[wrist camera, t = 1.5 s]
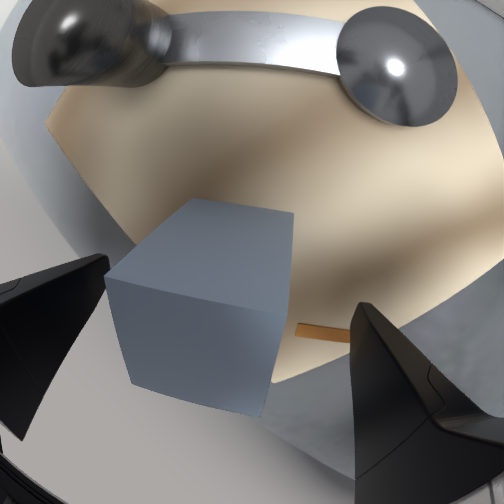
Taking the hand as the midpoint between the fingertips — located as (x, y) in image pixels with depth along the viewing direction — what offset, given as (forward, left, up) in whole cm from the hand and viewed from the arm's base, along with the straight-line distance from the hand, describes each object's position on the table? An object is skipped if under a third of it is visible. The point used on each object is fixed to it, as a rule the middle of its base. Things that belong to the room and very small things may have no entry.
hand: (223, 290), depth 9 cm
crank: (+8, 0, -3) cm, 9 cm away
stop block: (0, 0, -3) cm, 3 cm away
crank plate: (+4, -2, -4) cm, 6 cm away
